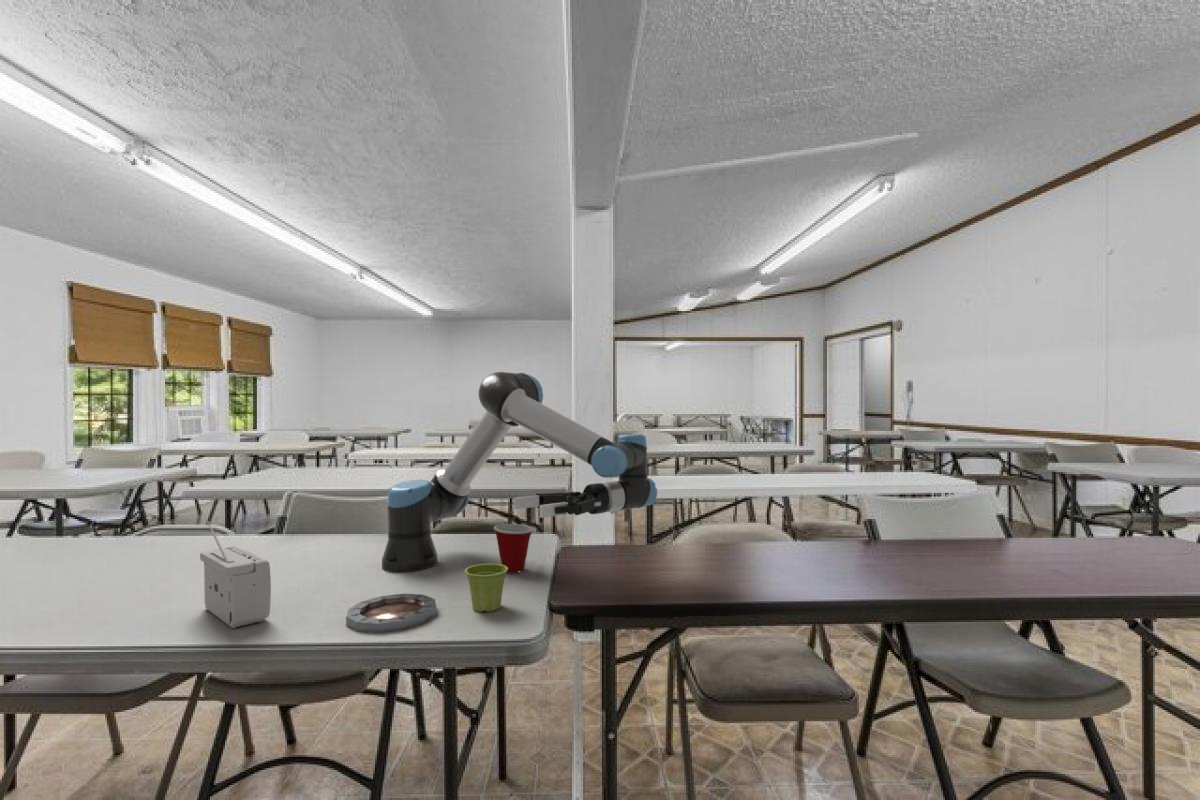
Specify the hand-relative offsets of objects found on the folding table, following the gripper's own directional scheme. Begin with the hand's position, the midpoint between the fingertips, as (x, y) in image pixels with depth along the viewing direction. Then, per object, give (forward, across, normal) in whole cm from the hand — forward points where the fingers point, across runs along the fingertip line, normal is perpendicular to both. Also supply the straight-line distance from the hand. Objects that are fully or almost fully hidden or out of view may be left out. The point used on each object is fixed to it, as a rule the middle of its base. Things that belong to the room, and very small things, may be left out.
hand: (526, 507), depth 137 cm
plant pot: (+10, +1, -22) cm, 24 cm away
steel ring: (+29, +8, -21) cm, 37 cm away
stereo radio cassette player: (+57, +29, -21) cm, 68 cm away
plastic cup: (-8, +24, -22) cm, 33 cm away
